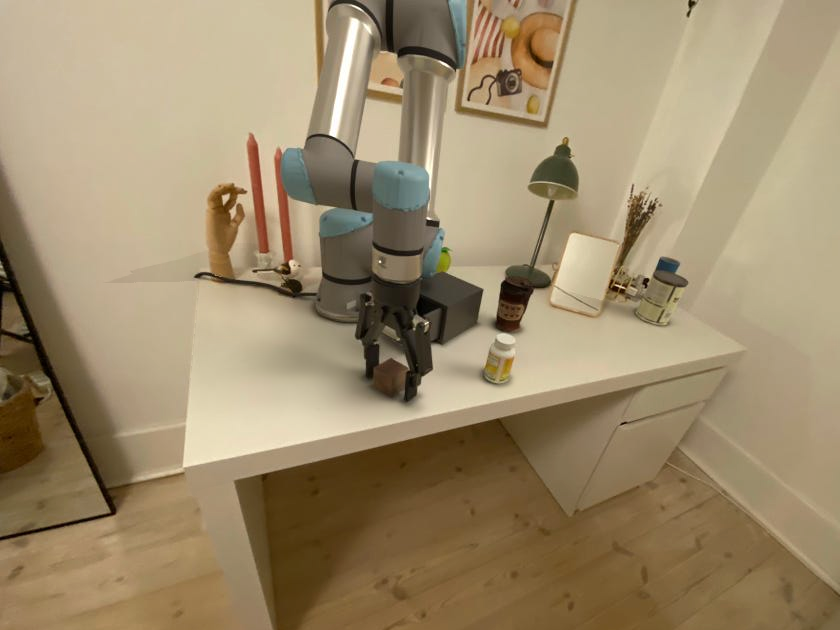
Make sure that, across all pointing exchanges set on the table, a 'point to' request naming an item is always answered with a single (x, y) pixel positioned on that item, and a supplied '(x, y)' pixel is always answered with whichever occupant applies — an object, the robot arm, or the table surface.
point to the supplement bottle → (500, 359)
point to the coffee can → (661, 297)
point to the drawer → (424, 311)
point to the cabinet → (452, 302)
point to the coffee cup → (513, 302)
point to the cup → (667, 264)
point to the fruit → (444, 260)
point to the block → (390, 377)
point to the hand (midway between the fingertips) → (390, 385)
